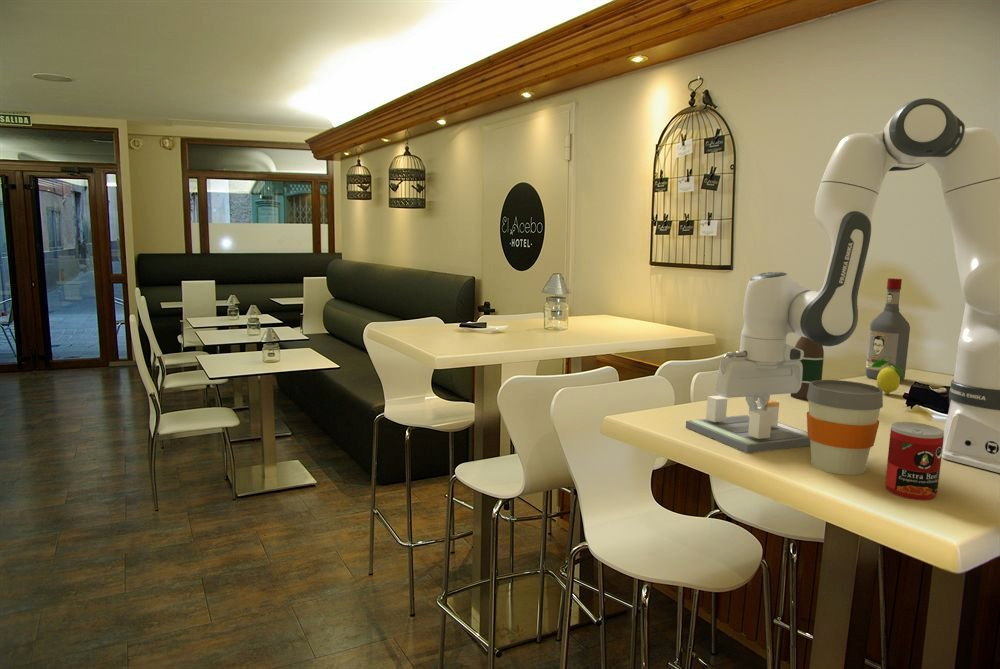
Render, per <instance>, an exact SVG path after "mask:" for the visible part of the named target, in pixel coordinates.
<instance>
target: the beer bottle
mask: <svg viewBox="0 0 1000 669" xmlns="http://www.w3.org/2000/svg"><path fill="white" fill-rule="evenodd" d="M794 347H795V348H798V349H801V350H803V351H804V356H803V359H802V360H799V361H800V362H801V363H802V366H803V373H802V384H801V388H800V390H799V391H798V392H797V393H790V397H791V398H793V399H797V400H805V401H808V399H807V393H808V388H809V383H810V382H812V381H816V380H823V379H822V378H823V369H824V357H825V354H824V353H825V352H824V346H822V345H819V344H817V343H815V342H813V341H812V340H810V339H808V338H805V337H802V336H800V337H799V339H797V341H796V343H795V345H794Z"/></svg>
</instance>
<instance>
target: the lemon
mask: <svg viewBox="0 0 1000 669" xmlns="http://www.w3.org/2000/svg"><path fill="white" fill-rule="evenodd" d="M887 362H889V361H885V360H878V361H876V362H875V363H874V364H873V365H872V366H871V367H873V368H877V367H881V366H884V365H886V364H887ZM890 364H891V358H890V363H889V366H888V367H886V368H883V369H882V370H881V371H880V372H879V374H878V376H877V380H876V385H877V386H876V387H878V388H880V389H882V390H883V393H884V394H885V395H889V394H890V393H893V392H895V391H897V389H898V388H899V387H900V384H901V383H900V382H901V381H900V377H899V374H898V372H897V371H896V370H898V371H899V373H900V374H901V375H902V376H903V377H904V374H903V372H902V370H901V369H900V368H899V367H898V366H894V365H892V364H891V365H892V366H893V367H894V368H895V369H894V368H892V367H891V366H890ZM905 378H906V376H905V377H904V379H905Z"/></svg>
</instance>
